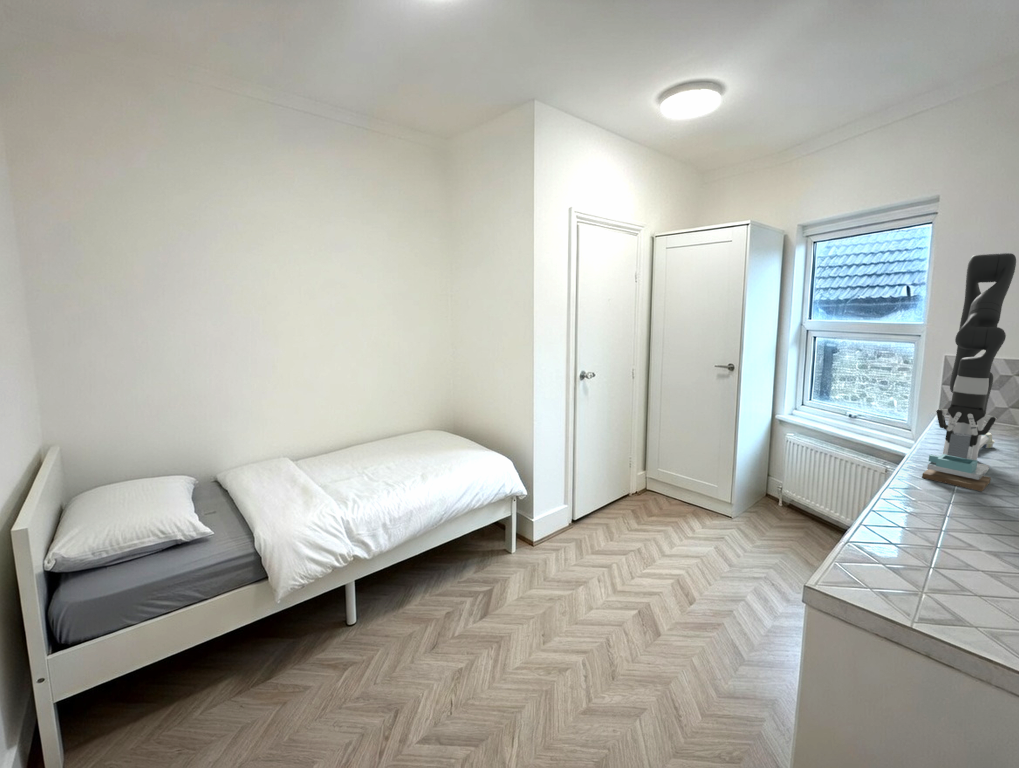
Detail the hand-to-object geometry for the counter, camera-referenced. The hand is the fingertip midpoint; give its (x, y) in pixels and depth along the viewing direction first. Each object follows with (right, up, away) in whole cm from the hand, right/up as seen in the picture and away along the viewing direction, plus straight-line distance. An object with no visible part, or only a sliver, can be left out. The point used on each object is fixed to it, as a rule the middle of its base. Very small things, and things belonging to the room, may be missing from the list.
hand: (960, 444), depth 146 cm
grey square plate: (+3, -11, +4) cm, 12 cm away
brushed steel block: (0, -4, +1) cm, 4 cm away
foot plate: (+3, -12, +4) cm, 13 cm away
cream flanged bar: (+44, -8, +38) cm, 59 cm away
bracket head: (-1, -7, +2) cm, 8 cm away
